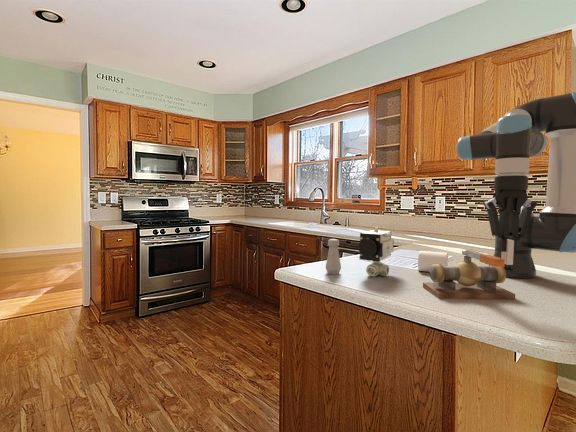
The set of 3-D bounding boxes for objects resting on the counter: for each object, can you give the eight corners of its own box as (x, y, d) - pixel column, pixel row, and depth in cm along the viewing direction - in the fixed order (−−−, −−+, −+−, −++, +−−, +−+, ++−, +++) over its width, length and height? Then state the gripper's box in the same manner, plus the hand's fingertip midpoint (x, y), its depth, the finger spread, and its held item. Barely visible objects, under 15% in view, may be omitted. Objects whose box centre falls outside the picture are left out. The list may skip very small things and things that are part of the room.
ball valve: (380, 281, 117) (381, 230, 116) (356, 278, 122) (357, 228, 121) (395, 272, 132) (396, 226, 131) (373, 269, 137) (374, 225, 136)
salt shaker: (343, 273, 130) (344, 239, 129) (335, 276, 125) (335, 240, 125) (331, 271, 134) (331, 237, 133) (322, 273, 129) (322, 239, 129)
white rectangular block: (445, 275, 127) (446, 254, 127) (417, 272, 132) (418, 252, 131) (448, 269, 138) (448, 250, 137) (421, 267, 142) (422, 248, 142)
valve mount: (491, 287, 111) (492, 253, 110) (515, 299, 99) (517, 260, 98) (422, 287, 111) (423, 252, 110) (438, 298, 99) (439, 259, 98)
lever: (459, 254, 106) (460, 248, 106) (470, 254, 106) (470, 248, 106) (492, 266, 88) (493, 259, 88) (505, 266, 88) (505, 259, 88)
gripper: (526, 176, 94) (521, 261, 96) (478, 176, 94) (474, 260, 96) (546, 174, 87) (541, 266, 88) (494, 174, 87) (490, 266, 88)
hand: (506, 263), depth 92 cm, fingers closed
